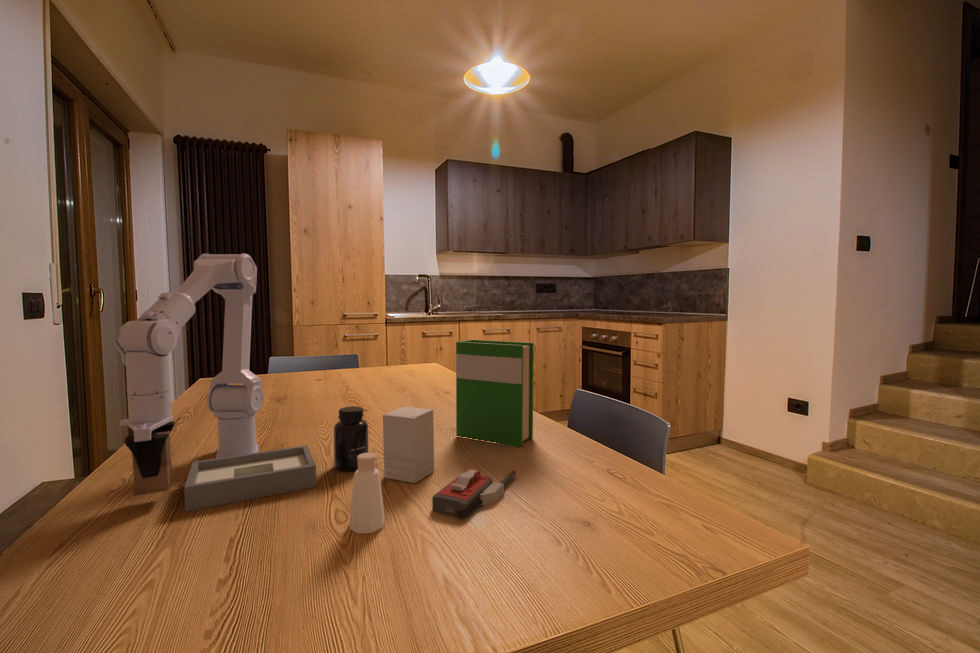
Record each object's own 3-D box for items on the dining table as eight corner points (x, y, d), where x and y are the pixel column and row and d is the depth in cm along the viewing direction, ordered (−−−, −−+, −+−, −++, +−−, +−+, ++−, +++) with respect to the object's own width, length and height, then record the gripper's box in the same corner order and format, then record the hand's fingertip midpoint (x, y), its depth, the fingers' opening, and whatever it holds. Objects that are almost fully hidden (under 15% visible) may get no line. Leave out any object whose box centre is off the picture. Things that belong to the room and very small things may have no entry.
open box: (193, 482, 83) (192, 461, 83) (307, 463, 93) (307, 445, 93) (185, 511, 72) (184, 487, 72) (316, 486, 82) (315, 465, 81)
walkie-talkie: (474, 528, 68) (519, 479, 86) (474, 500, 68) (519, 457, 86) (425, 516, 72) (478, 472, 90) (425, 490, 71) (478, 451, 90)
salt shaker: (352, 538, 64) (351, 464, 64) (346, 521, 69) (344, 452, 68) (389, 529, 67) (388, 457, 66) (380, 513, 72) (380, 447, 71)
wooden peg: (140, 485, 76) (137, 434, 76) (172, 480, 78) (170, 430, 78) (134, 496, 72) (131, 441, 72) (168, 490, 74) (165, 437, 74)
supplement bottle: (359, 473, 88) (357, 414, 87) (327, 471, 89) (326, 412, 88) (374, 460, 95) (373, 405, 94) (345, 458, 96) (343, 404, 95)
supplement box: (435, 470, 89) (435, 409, 89) (414, 484, 83) (413, 418, 82) (405, 465, 93) (404, 405, 92) (382, 478, 86) (381, 413, 85)
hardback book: (532, 439, 110) (533, 342, 108) (521, 447, 103) (521, 345, 102) (470, 429, 118) (470, 339, 116) (456, 437, 111) (456, 341, 110)
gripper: (129, 386, 79) (133, 461, 79) (106, 403, 66) (111, 492, 67) (177, 382, 82) (180, 454, 83) (164, 398, 69) (168, 483, 70)
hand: (153, 471), depth 75 cm, fingers closed on wooden peg, 4 cm apart
